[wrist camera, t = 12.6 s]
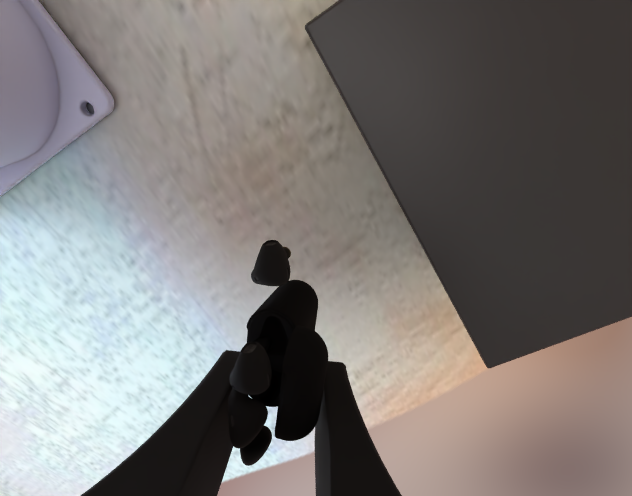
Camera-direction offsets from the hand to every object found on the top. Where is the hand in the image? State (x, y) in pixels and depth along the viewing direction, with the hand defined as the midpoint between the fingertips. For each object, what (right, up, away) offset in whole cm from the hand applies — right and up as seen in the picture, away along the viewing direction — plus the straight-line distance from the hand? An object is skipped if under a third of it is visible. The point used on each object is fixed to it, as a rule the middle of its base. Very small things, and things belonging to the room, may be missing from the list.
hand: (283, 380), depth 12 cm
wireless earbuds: (+1, +2, +1) cm, 2 cm away
